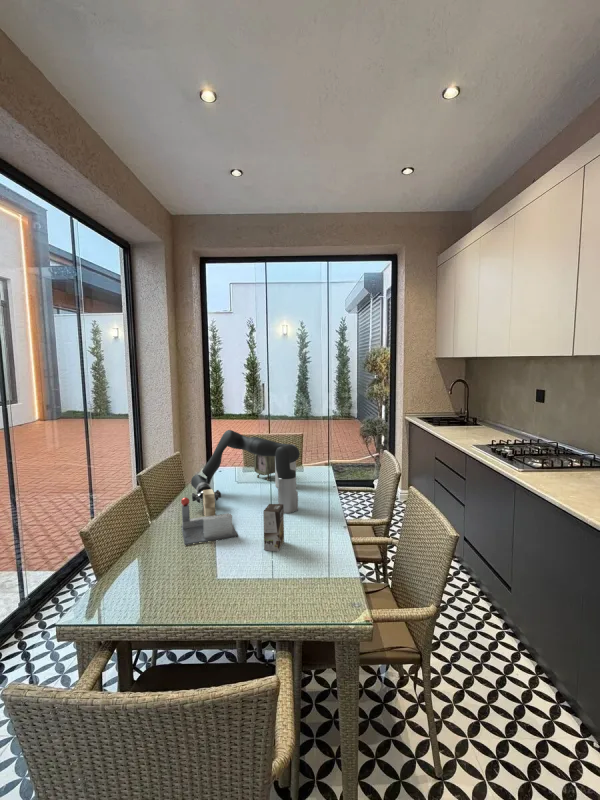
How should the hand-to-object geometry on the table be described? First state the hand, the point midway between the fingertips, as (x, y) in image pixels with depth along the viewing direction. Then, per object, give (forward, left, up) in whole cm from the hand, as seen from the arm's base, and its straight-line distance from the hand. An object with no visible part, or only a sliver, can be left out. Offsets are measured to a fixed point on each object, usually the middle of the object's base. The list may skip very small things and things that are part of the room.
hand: (208, 499), depth 195 cm
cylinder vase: (-50, -27, -7) cm, 57 cm away
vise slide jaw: (+3, +16, -6) cm, 17 cm away
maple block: (0, +3, -7) cm, 8 cm away
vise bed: (+3, +23, -7) cm, 24 cm away
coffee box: (-20, +47, -7) cm, 52 cm away
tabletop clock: (-44, -49, -7) cm, 66 cm away
